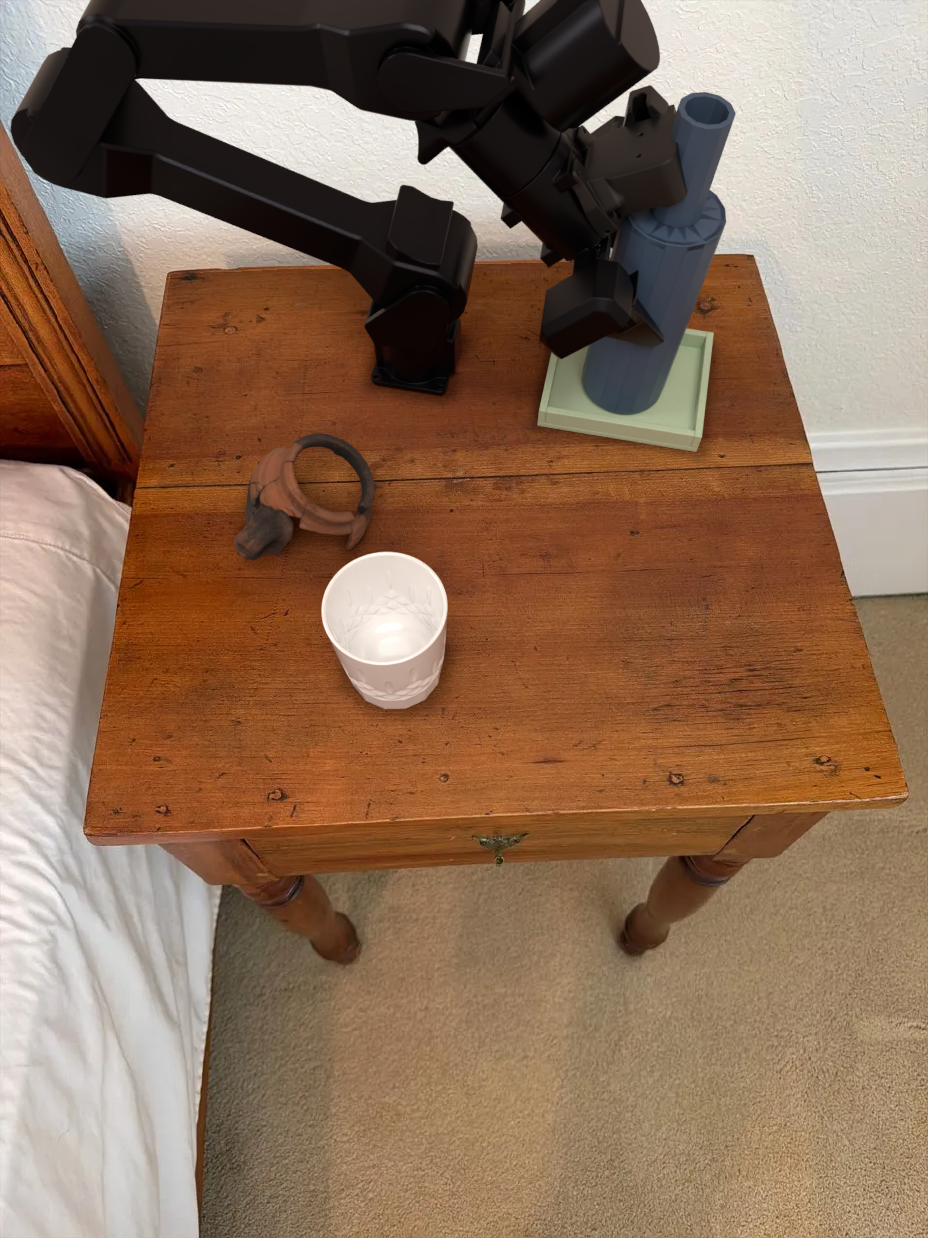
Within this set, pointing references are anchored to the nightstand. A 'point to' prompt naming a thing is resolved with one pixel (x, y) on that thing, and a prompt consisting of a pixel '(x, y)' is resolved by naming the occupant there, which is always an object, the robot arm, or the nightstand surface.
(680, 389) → the tray
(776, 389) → the nightstand surface
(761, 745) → the nightstand surface
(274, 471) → the brown grey sculpted ring
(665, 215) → the carafe
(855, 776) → the nightstand surface
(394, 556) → the white cup
